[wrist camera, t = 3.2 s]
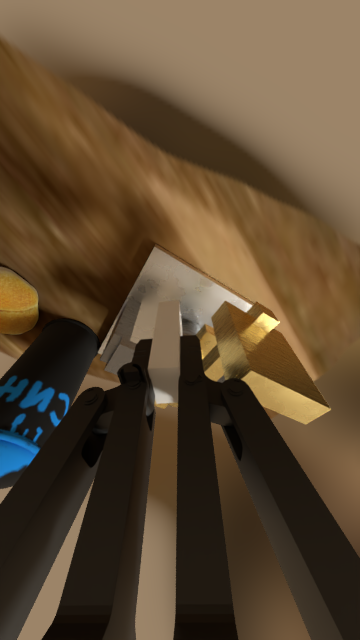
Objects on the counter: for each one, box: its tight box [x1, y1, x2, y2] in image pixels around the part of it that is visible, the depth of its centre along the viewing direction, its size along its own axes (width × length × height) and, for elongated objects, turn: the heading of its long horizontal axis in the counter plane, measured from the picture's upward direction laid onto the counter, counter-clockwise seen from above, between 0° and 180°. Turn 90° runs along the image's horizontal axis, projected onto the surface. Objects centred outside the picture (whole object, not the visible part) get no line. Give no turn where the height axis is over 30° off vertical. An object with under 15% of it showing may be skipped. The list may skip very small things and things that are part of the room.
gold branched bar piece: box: [154, 301, 331, 424], centre depth 19 cm, size 6×18×11 cm, turn 148°
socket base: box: [98, 244, 254, 383], centre depth 27 cm, size 18×18×10 cm
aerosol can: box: [0, 319, 100, 489], centre depth 23 cm, size 8×8×20 cm
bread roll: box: [0, 267, 39, 335], centre depth 26 cm, size 8×9×4 cm
